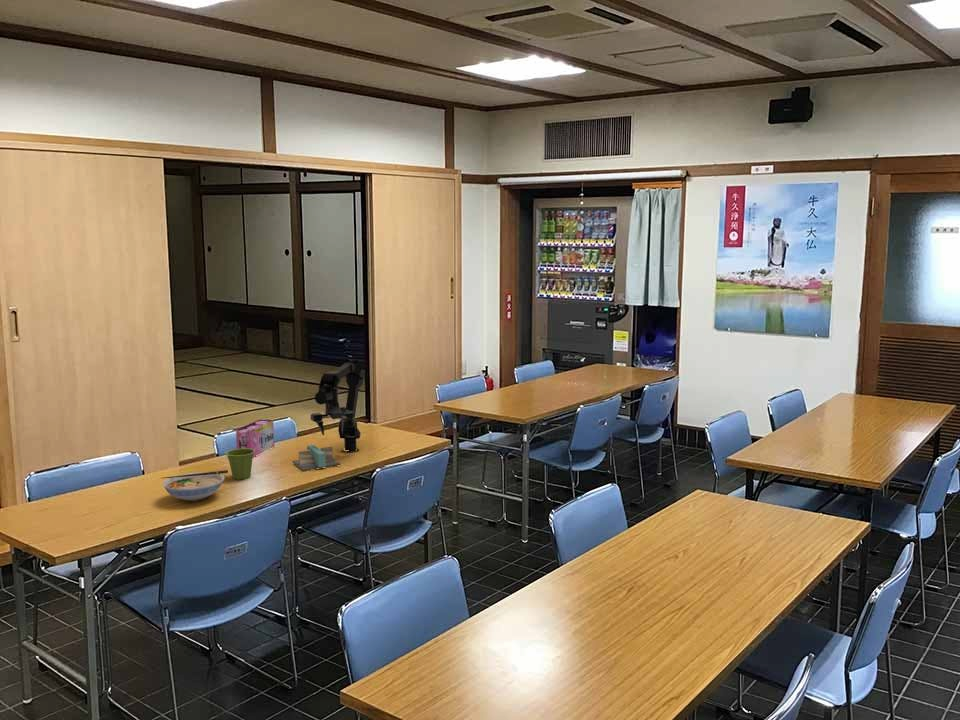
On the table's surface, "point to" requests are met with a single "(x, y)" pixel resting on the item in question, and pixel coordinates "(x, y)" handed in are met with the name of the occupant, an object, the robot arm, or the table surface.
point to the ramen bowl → (194, 485)
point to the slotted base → (312, 466)
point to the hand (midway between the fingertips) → (333, 433)
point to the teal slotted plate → (317, 456)
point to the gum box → (256, 436)
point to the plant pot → (240, 462)
